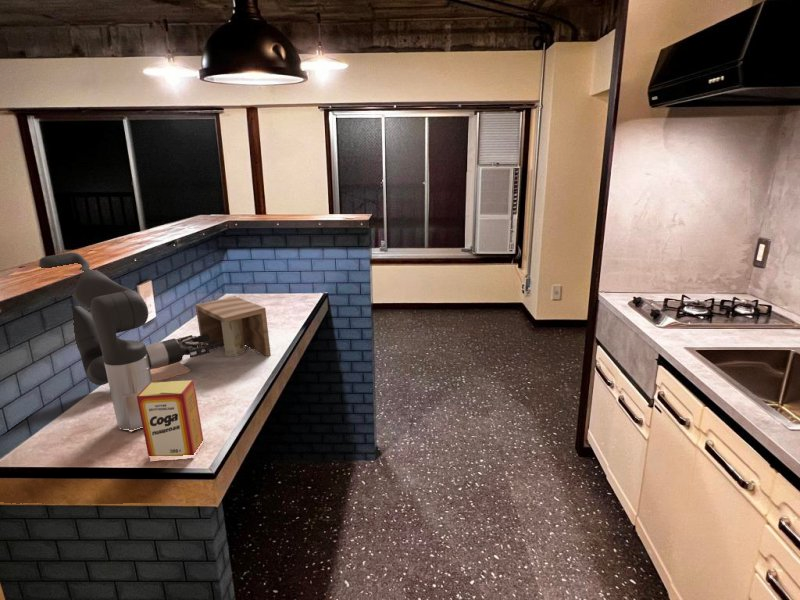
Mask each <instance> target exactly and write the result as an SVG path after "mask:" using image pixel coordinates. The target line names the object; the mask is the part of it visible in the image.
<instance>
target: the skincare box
mask: <svg viewBox="0 0 800 600" xmlns="http://www.w3.org/2000/svg"><path fill="white" fill-rule="evenodd" d="M221 325H222V332H223V340H224V346H223V347H224V353H225V357H238V356H240V355H241V354H242V353H245V351H246V350H247V349H246V346H245V341H244V333H243V324H242V318H241V319H237V320H233V321H229V322H225V323H224V322H221Z"/></svg>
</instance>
